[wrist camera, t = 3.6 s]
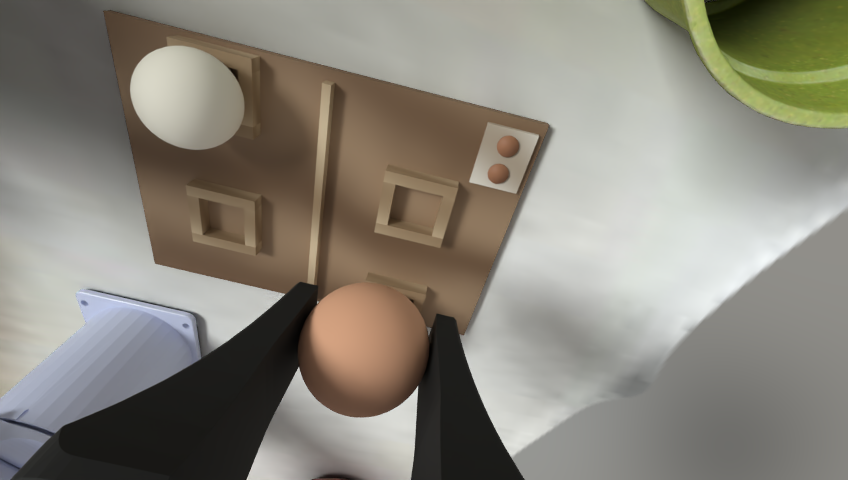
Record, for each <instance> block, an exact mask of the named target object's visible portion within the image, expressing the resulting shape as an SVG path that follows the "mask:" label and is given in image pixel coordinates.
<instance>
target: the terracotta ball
mask: <svg viewBox="0 0 848 480" xmlns="http://www.w3.org/2000/svg"><path fill="white" fill-rule="evenodd" d="M428 358H429V337H428V331H427V328H426V325H425V322H424V319H423V317H422V316H421V314H420V312H419V310H418V309H417V308H416V306H415V305H414V304H413V303H412V302H411V301H410V300H409V299H408V298H407V297H406V296H405V295H404V294H402V293H401V292H399V291H397V290H395V289H393V288H391V287H389V286H386V285H382V284H378V283H370V282H361V283H354V284H350V285H346V286H343V287H341V288H339V289H337V290H335V291H333V292H331V293H330V294H328V295H327V296H326V297H324V298H323V299H322V300H321V301H320V302H319V303H318V304H317V305H316V306H315V307H314V308H313V310H312V311H311V312H310V314H309V316H308V317H307V319H306V321H305V323H304V325H303V328H302V330H301V333H300V338H299V343H298V362H299V368H300V372H301V375H302V377H303V380H304V382H305V384H306V386H307V387H308V389H309V391H310V392H311V393H312V394H313V396H314V397H315V398H316V399H317V400H318V401H319V402H320V403H321V404H323V405H324V406H326V407H327V408H329V409H330V410H332V411H334V412H336V413H339V414H342V415H345V416H350V417H372V416H377V415H380V414H383V413H386V412H388V411H390V410H392V409H394V408H395V407H397V406H399V405H400V404H401V403H403V402H404V401H405V400H406V399H407V398H408V397H409V396H410V395H411V394H412V393H413V392H414V390H415V389H416V388H417V386H418V385H419V383H420V381H421V380H422V377H423V375H424V373H425V370H426V367H427V363H428Z"/></svg>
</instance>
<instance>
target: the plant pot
mask: <svg viewBox="0 0 848 480" xmlns="http://www.w3.org/2000/svg"><path fill="white" fill-rule="evenodd" d="M645 2H646V3H647V4H648V5H649V6H651V7H652V8H653V9H654V10H655V11H657V12H658V13H660V14H661V15H663V16H664V17H666V18H668V19H669V20H671V21H673V22H674V23H676V24H678V25H679V26H681V27H682V28H684V29H685V30H687V31H688V32H689V34H690V37H691V40H692V43H693V45H694V48H695V50H696V52H697V54H698V56H699V58H700V59H701V61H702V62H703V64H704V65H705V67H706V68H707V70H708V72H709V73H710V74H711V76H712V77H713V78H714V79H715V80H716V81H717V82H718V84H719V85H720V86H721V87H722V88H724V89H725V90H726V91H727V92H728V93H729V94H730V95H731V96H733V97H734V98H736V99H737V100H739V101H740V102H742V103H743V104H745V105H746V106H748V107H750V108H751V109H753V110H755V111H757V112H758V113H760V114H763V115H765V116H767V117H770V118H773V119H776V120H779V121H782V122H785V123H789V124H793V125H799V126H805V127H814V128H830V129H841V128H848V0H716V1H713V2H708V3H704V0H645Z"/></svg>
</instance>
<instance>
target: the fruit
mask: <svg viewBox="0 0 848 480" xmlns="http://www.w3.org/2000/svg"><path fill="white" fill-rule="evenodd" d="M312 480H348V479H339V478H319V479H312Z"/></svg>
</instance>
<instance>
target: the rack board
mask: <svg viewBox="0 0 848 480" xmlns="http://www.w3.org/2000/svg"><path fill="white" fill-rule="evenodd" d="M103 12H104V17H105V21H106V26H107V31H108V36H109V41H110V46H111V51H112V56H113V61H114V65H115V70H116V75H117V80H118V85H119V90H120V95H121V100H122V104H123V109H124V114H125V119H126V124H127V129H128V134H129V139H130V144H131V148H132V153H133V158H134V163H135V168H136V173H137V178H138V183H139V188H140V192H141V197H142V202H143V207H144V212H145V217H146V222H147V227H148V231H149V236H150V241H151V246H152V251H153V256H154V261H155V264H159V265H163V266H168V267H172V268H176V269H181V270H185V271H189V272H193V273H198V274H202V275H206V276H211V277H215V278H219V279H224V280H228V281H232V282H237V283H241V284H245V285H250V286H254V287H258V288H262V289H267V290H271V291H275V292H280V293H284V294H286V293H288V292H289V291H290V290H291V289H292V288H293V287H294V286H295V285H296V284H297V283H299V282H304V283H309V284H313V285H317V286H318V297H317V301H319V302H320V301H321V300H322V299H323V298H324V297H326V296H327V295H328V294H330V293H331V292H333V291H335V290H337V289H339V288H341V287H343V286H346V285H350V284H354V283H361V282H370V283H378V284H382V285H386V286H389V287H391V288H393V289H395V290H397V291H399V292H401V293H402V294H404V295H405V296H406V297H407V298H408V299H409V300H410V301H411V302H412V303H413V304H414V305H415V306H416V308H417V309H418V310H419V312H420V314H421V316H422V317H423V319H424V322H425V325H426V327H431V328H432V326H433V323H434V320H435V317H436V313H437V314H441V315H446V316H450V317H454V318H455V319H456V321H457V327H458V331H459V334H461V335H464V334H465V331H466V329H467V326H468V324H469V321H470V319H471V316H472V314H473V312H474V309H475V307H476V304H477V302H478V299H479V297H480V294H481V292H482V289H483V287H484V284H485V282H486V280H487V277H488V275H489V272H490V270H491V267H492V265H493V262H494V260H495V257H496V255H497V253H498V250H499V248H500V245H501V243H502V240H503V238H504V235H505V233H506V230H507V228H508V226H509V223H510V221H511V218H512V216H513V213H514V211H515V208H516V206H517V203H518V201H519V199H520V196H521V194H522V191H523V189H524V186H525V184H526V181H527V179H528V176H529V174H530V172H531V169H532V167H533V164H534V162H535V159H536V157H537V154H538V152H539V149H540V147H541V145H542V142H543V140H544V137H545V135H546V132H547V130H548V127H549V125H548V123H545V122H541V121H537V120H533V119H529V118H526V117H522V116H518V115H514V114H510V113H506V112H502V111H498V110H495V109H491V108H487V107H483V106H479V105H475V104H471V103H467V102H464V101H460V100H456V99H452V98H448V97H444V96H440V95H436V94H433V93H429V92H425V91H421V90H417V89H413V88H409V87H405V86H402V85H398V84H394V83H390V82H386V81H382V80H378V79H374V78H371V77H367V76H363V75H359V74H355V73H351V72H347V71H343V70H340V69H336V68H332V67H328V66H324V65H320V64H316V63H312V62H309V61H305V60H301V59H297V58H293V57H289V56H285V55H281V54H278V53H274V52H270V51H266V50H262V49H258V48H254V47H250V46H247V45H243V44H239V43H235V42H231V41H227V40H223V39H219V38H215V37H212V36H208V35H204V34H200V33H196V32H192V31H188V30H184V29H181V28H177V27H173V26H169V25H165V24H161V23H157V22H153V21H150V20H146V19H142V18H138V17H134V16H130V15H126V14H122V13H119V12H115V11H111V10H109V11H103ZM168 46H187V47H192V48H196V49H199V50H202V51H204V52H206V53H208V54H210V55H212V56H214V57H215V58H217V59H218V60H219V61H221V62H222V63H223V64H224V65H225V66H226V67H227V68H228V69H229V70H230V71H231V72H232V74H233V75H234V76H235V78H236V80H237V81H238V83H239V85H240V87H241V90H242V93H243V97H244V116H243V120H242V123H241V125H240V127H239V129H238V130H237V132H236V133H235V134H234V135H233V136H232V137H231V138H230V139H229V140H228V141H226V142H225V143H223V144H221V145H219V146H216V147H213V148H209V149H203V150H191V149H185V148H180V147H177V146H174V145H172V144H170V143H167V142H165V141H164V140H162V139H160V138H159V137H157V136H156V135H155V134H153V133H152V132H151V131H150V130H149V129H148V128H147V127H146V126H145V125H144V124H143V122H142V121H141V120H140V118H139V116H138V115H137V113H136V111H135V109H134V106H133V103H132V100H131V94H130V83H131V78H132V75H133V72H134V70H135V68H136V66H137V65H138V63H139V62H140V61H141V60H142V59H143V58H144V57H145V56H146V55H148V54H149V53H151V52H153V51H155V50H157V49H160V48H163V47H168Z"/></svg>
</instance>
